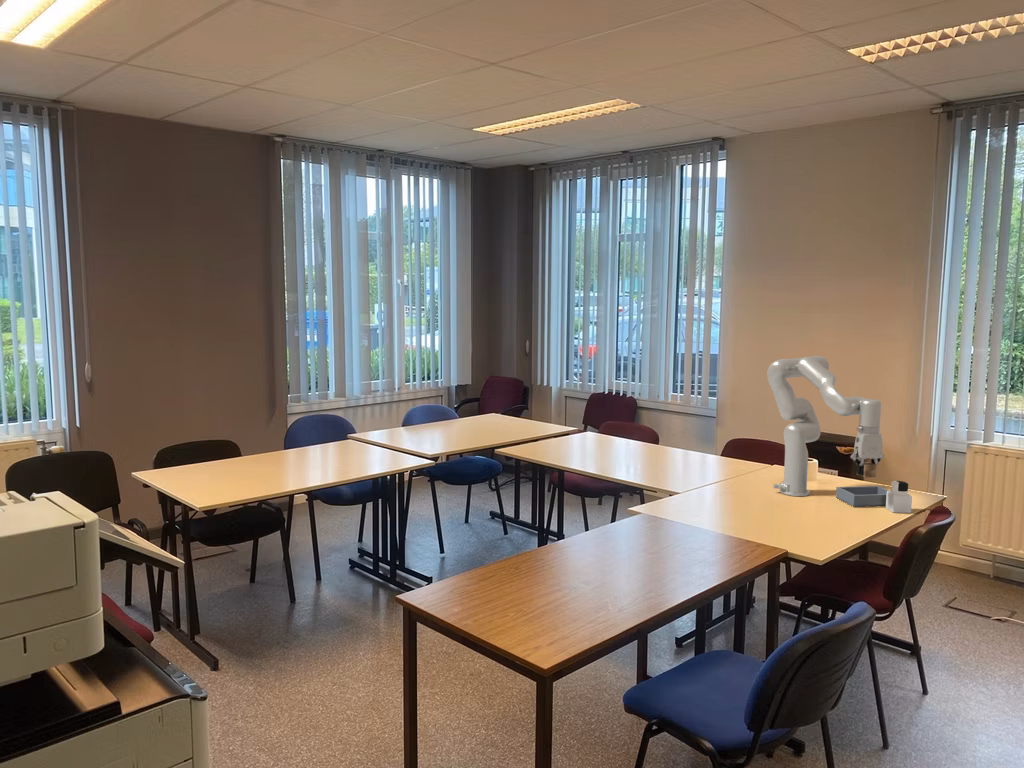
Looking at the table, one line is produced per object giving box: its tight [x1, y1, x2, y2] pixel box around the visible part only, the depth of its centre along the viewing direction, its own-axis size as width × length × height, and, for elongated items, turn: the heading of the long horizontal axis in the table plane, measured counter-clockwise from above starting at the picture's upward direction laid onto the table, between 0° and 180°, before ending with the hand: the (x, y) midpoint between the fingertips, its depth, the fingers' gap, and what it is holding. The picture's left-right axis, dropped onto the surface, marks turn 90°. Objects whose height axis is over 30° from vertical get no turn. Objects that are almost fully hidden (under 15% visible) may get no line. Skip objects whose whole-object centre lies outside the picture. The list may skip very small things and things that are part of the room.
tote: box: [835, 485, 890, 508], centre depth 309 cm, size 19×14×5 cm
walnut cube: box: [855, 461, 877, 479], centre depth 295 cm, size 5×5×5 cm
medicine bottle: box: [885, 480, 913, 514], centre depth 296 cm, size 7×7×12 cm
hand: (866, 474), depth 295 cm, fingers closed on walnut cube, 4 cm apart
